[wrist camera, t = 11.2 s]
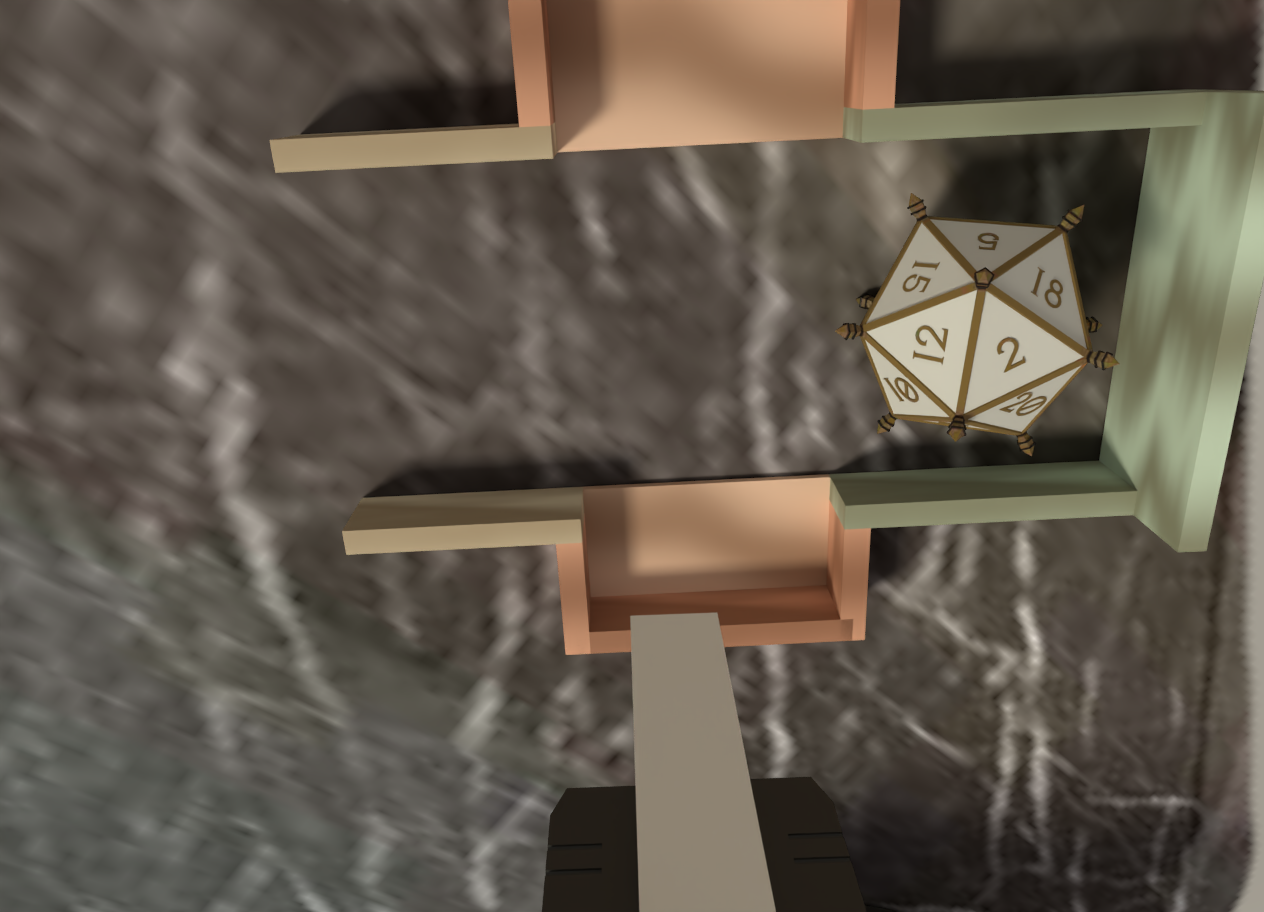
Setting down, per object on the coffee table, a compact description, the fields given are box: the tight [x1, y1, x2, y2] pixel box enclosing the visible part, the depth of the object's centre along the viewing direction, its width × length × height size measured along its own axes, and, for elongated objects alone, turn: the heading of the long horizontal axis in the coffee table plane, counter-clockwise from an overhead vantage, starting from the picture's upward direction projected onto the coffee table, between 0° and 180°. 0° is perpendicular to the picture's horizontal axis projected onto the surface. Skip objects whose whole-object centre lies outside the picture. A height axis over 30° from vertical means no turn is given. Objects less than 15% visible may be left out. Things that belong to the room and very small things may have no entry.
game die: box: [835, 193, 1120, 456], centre depth 31 cm, size 9×8×10 cm
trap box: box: [270, 0, 1264, 655], centre depth 32 cm, size 25×31×6 cm
